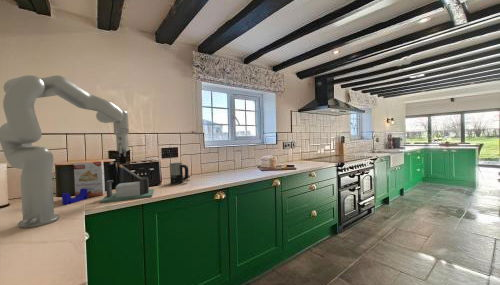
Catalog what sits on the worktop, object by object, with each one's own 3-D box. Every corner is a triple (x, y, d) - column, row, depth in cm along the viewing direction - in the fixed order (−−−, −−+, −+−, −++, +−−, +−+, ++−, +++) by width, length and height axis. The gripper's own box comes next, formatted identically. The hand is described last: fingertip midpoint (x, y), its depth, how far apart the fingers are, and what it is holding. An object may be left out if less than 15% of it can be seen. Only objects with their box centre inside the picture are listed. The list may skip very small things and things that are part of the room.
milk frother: (169, 184, 163) (168, 164, 163) (172, 180, 179) (171, 161, 179) (189, 183, 166) (188, 162, 166) (190, 179, 182) (189, 160, 181)
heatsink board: (151, 197, 129) (150, 179, 129) (100, 203, 120) (99, 184, 120) (153, 190, 146) (152, 174, 146) (109, 195, 137) (108, 178, 137)
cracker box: (75, 198, 132) (72, 163, 132) (78, 196, 138) (76, 162, 137) (103, 195, 137) (101, 161, 137) (105, 193, 143) (103, 160, 142)
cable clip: (81, 198, 132) (80, 188, 132) (87, 198, 132) (86, 188, 131) (60, 205, 121) (59, 193, 121) (67, 205, 120) (66, 193, 120)
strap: (143, 181, 137) (144, 179, 137) (142, 181, 134) (144, 180, 134) (119, 165, 133) (120, 164, 133) (118, 166, 130) (119, 164, 130)
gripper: (126, 131, 126) (128, 164, 126) (130, 132, 140) (132, 161, 140) (110, 131, 123) (112, 165, 123) (116, 132, 137) (118, 162, 138)
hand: (123, 163), depth 132 cm, fingers closed
